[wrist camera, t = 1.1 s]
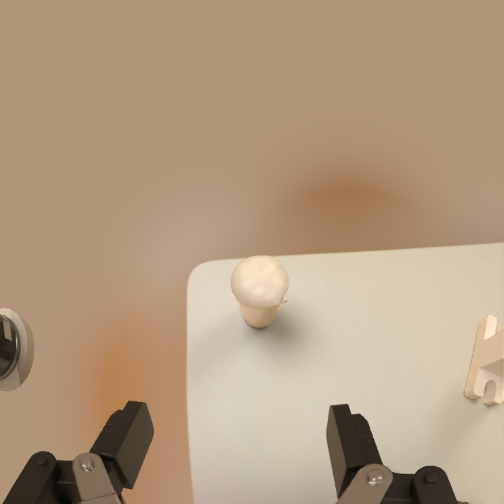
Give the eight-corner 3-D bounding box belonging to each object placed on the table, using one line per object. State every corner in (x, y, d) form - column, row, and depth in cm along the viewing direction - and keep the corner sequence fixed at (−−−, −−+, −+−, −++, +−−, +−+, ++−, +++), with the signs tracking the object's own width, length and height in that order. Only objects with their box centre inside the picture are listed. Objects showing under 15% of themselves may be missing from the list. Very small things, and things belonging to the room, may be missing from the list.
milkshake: (258, 349, 30) (259, 320, 22) (228, 308, 32) (217, 263, 24) (295, 324, 31) (310, 284, 23) (264, 284, 34) (266, 233, 25)
